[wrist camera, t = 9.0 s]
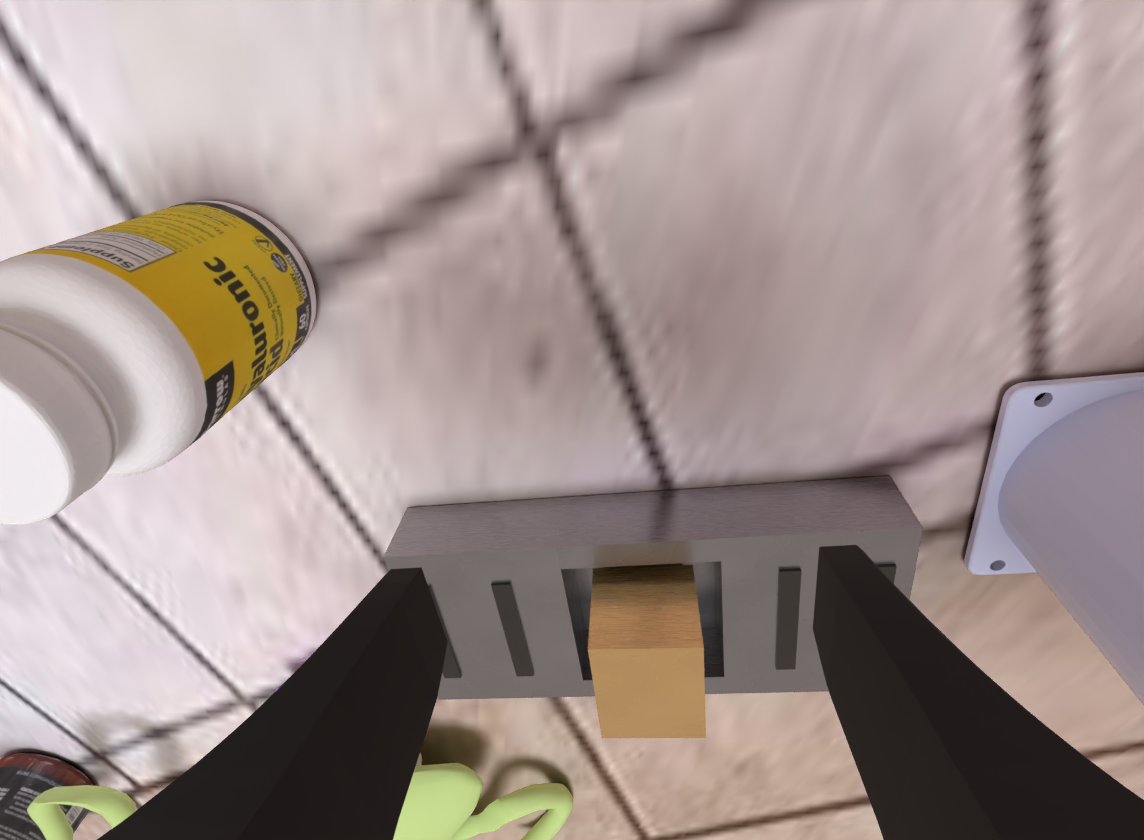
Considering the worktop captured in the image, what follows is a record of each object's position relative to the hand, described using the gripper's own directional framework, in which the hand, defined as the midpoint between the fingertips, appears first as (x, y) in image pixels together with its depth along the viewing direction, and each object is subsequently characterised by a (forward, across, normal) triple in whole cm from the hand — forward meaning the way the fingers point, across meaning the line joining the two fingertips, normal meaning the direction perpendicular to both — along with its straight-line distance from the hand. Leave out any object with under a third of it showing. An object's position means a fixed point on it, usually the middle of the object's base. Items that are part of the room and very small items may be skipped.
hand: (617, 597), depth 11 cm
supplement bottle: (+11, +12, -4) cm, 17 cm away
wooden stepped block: (+10, 0, +9) cm, 14 cm away
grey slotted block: (+10, 0, +10) cm, 14 cm away
